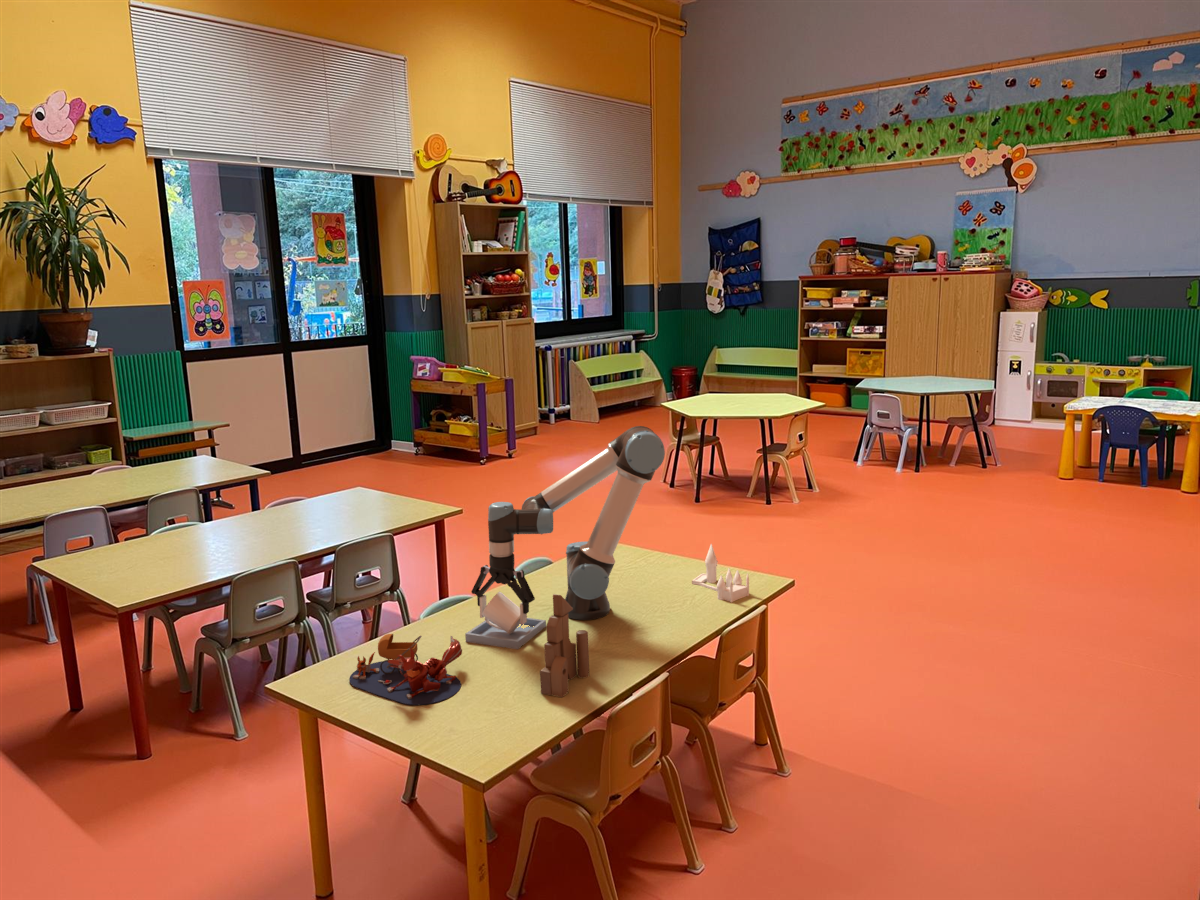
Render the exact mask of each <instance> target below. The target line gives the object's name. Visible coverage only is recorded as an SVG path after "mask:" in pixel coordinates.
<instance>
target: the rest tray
mask: <svg viewBox="0 0 1200 900" xmlns="http://www.w3.org/2000/svg"><path fill="white" fill-rule="evenodd" d="M489 621H490V620H489ZM490 622H491V621H490ZM491 623H493V622H491ZM493 624H494V623H493ZM495 625H496V624H495ZM524 625H529V626H530V627H529V626H528V627H526V628H524V629H523V628H521V626H522V625H521V626H520V627H518V628H516V629H515V631H514V632H513V633H511V634H509V633H507V632H506V631H504V630H500V629H497V628H494V627H492V626H490V625H489V624H488V623H487V622H486V621H485V620H484V621H482V622H481V623H479V624H478V625H476V626H474V627H473V628H472V629H470V630H468V631H466V633H465V635H464V636H465V642H466V643H473V644H478V645H479V644H480V645H484V646H491V647H492V646H494V647H499V648H505V647H506V649H511V650H519V649H520V648H521V646H522V645H523V646H524V645H525V644H526V643H528V642H529V641H531V640H532V639H533V638H534V637H535V636H536V635H537V634H539V633H540V632H541V631H543V629H545V628H547V620H545V619H537V618H532V617H527V622H526V623H524ZM533 626H534V627H533ZM523 646H522V647H523Z"/></svg>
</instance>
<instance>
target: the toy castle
mask: <svg viewBox="0 0 1200 900" xmlns="http://www.w3.org/2000/svg"><path fill="white" fill-rule="evenodd" d="M704 563H705V568H706V571H705V572H706V573H703V572H702V573H700V574H699V575H698V576H696V577H695V578H693V579H692V580H691V584H692V585H697V586H701V587H704V588H707V589H710V590H712V591H716V592H717V600H719V601H723V600H725V601H727V602H729V603H733V602H735V601H737V600H741V599H742V598H745V597H749V596H750V578H749V572H747V573H746V579H745V582H746V583H745V585H744V584H742V583H743V579H742V576H741V573H740V572H739V570H738V569H736V571H735V574H734V577H733V575H732V572H731V569H730V568H727V572H726V574H725V575H726V576H725V580H724V577H723V576H722V574H720V577H719V579H718V581H717V567H718V559H717V555H716V553H715V550H714V547H713V544H712V543H710V545H709V549H708V550H707V554H706V557H705V560H704ZM705 582H707V583H709V584H707V583H705ZM714 583H717V584H716V586H713V585H710V584H714Z"/></svg>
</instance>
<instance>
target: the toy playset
mask: <svg viewBox="0 0 1200 900" xmlns="http://www.w3.org/2000/svg"><path fill="white" fill-rule="evenodd" d="M453 637H454V636H453V635H450V644H449V647H448V648H447V649H446V650H445V651H444V652H443V653H442V657H441V659H438V658H435V657H430V658H429V659H427V660H426V661H425V662H424V663H422V662H421V661H419V657H418V654H417V652H418V643H419V641H420V640H421V638H422V635H419V636H418V637H417V638H416V639H414V640H413V641H411V642H408V641H407V642H404V641H403V642H402V641H399V642H398V641H394V640H393V639H394V633H387V634H384V635H383V636H382V637H380V639H379V640H378V643H377V653H378V655H379V657H381V658H384V659H386V660H382V661H377V662H372V661H373V660H374V656H375V653H376V651H375V652H373V653H372V654H371V655H370V656H369V658H368V662H367V659H366V657H365V656H362V657H363V658H362V660H361V659H360V656H359V655H358V656H357V658H356V659H357V661H358V663H357V664H356V670H355V671H353V672H352V673H351V674H350V676H349V679H348V680H349V683H350V685H351V686H353V687H354V688H357V689H360V690H362V691H365V692H367V693H369V694H372V695H375V696H379V697H381V698H384V699H388V700H391V701H394V702H396V703H400V704H403V705H410V706H422V705H423V706H424V705H426V706H427V705H431V704H436V703H439V702H443V701H446V700H448V699H449V698H451V697H454V696H455V695H456V694H457V693H459V691H460V690H461V688H462V682H461V680H460V679H459V678H458V677H457V676H456V675H452V674H449V673H448V670H447V668H446V667H447V666H448V665H449V664H451V663H452V662H454V661H456V660H457V659H458V658H460V657H461V656H462V655H463V649H462V646H461V642H460V640H458V639H456V638H453ZM366 662H367V663H368V664H366Z"/></svg>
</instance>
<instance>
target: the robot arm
mask: <svg viewBox="0 0 1200 900" xmlns="http://www.w3.org/2000/svg"><path fill="white" fill-rule="evenodd" d="M664 445H665V444H664V442H663V441H662V439H661V438H660V437H659V436H658V435H657V434H656V432H654V431H653V430H652V429H651V428H649V427H647V426H644V425H643V426H642V425H636V426H633V427H632V426H631V427H630V428H628V429H627V430H625V431H624V432H623V433H621V434H619V435H618V436H617V437H616V438H614V439H613V440H611V441H610V442H609V443H607V448H605V449H603V450H602V451H601V452H599V453H598V454H596V455H594V456H593V457H592V458H590V459H588V460H587V461H586V462H584V463H583V464H581V465H580V466H578V467H577V468H575V469H574V470H572V471H571V472H569V473H567V474H566V475H565V476H563V477H562V478H560V479H559V480H557V481H555V482H554V483H552V484H551V485H549V486H548V487H546V488H544V490H542V491H540V492H539V493H537V494H536V495H534V496H529V497H527V498H526V499H525V500H524V501H523V504H522V505H521V509H519V508H518V509H516V508H515V507H514V504H513V503H511V502H510V501H509V502H508V501H496V502H493V503H491V504H489V506H488V511H487V512H488V516H487V517H488V518H487V527H488V553H489V560H488V561H489V566H488V565H487V564H485V565H483V566H481V567H480V573H479V575H478V578H477V579H476V581H475V583H474V586H473V587H472V590H471V594H472V595H475V596H477V597H476V598H477V606H478V607H479V618H482V619H483V618H485V617H484V616H483V615H482V613H483V611H484V609H485V608H486V606H487V605H488V604H487V594H485V593H486V592H487V591H488V590H489V588H491V587H492V585H493V584H495V583H496V584H501V585H507V586H508V587H510V588H511V590H512V591H513V592H514V594H515V595H516V596H517V598H518V599H519V600H520V603H519V608H520V624H521V625H523V624H524V623H526V622H527V618H528V613H529V612H530V603H532V602H533V601H535V599H536V598H535V595H534V592H533V591H532V589H531V587H530V585H529V583H528V581H527V579H526V576H525V571H524V570H523V569H521V570H517V571H516V570H515V535H543V534H544V535H545V534H547V535H548V534H551V533H553V532H554V513H555V512H556V511H558V510H559V509H561V508H562V507H564V506H565V505H566V504H568V503H570V502H571V501H573V500H575V499H576V498H578V497H579V496H580V495H582V494H584V492H587V491H588V490H589V489H591V488H593V487H594V486H596V485H597V484H598V483H600V482H602V481H604V480H605V479H606V478H608V477H609V476H611V475H612V474H615V472H617V473H616V476H615V478H614V481H613V483H612V486H611V487H610V490H609V492H608V495H607V496H606V499H605V501H604V504H603V506H602V508H601V511H600V513H599V515H598V518H597V519H596V522H595V525H594V527H593V529H592V531H591V533H590V537H589V538H588V540H587V541H576V542H572V543H571V542H570V543H568V545H567V546H566V551H565V554H566V576H567V578H566V579H567V591H566V596H565V597H564V599H565V600H566V601H567V602H568V604H569V605H570V606H571V607H572V608H573V610H571V611H570V612H568V618H570V619H573V620H577V621H578V620H580V621H589V620H590V621H591V620H596V619H601V618H604V617H605V616H607V615H609V614H610V612H611V605H610V601H609V599H608V596H607V594H606V592H607V589H608V587H609V584H610V575H611V572H612V570H613V569H614V566H615V563H616V560H615V557H614V553H615V551H616V548H617V546H618V544H619V542H620V540H621V537H622V535H623V533H624V531H625V529H626V526H627V524H628V521H629V519H630V517H631V515H632V513H633V510H634V508H635V505H636V504H637V501H638V498H639V496H640V494H641V492H642V489H643V487H644V484H647V483H650V482H651V481H652V479H653V477H654V475H655V472H656V471H657V470H658V469H659V468H660V467H661V465H663V463H664V460H665V454H666V451H665V446H664ZM488 573H489V575H490V578H489V579H488V580H487V582H486V583H485V584H484V585H483V583H484V581H485V579H486V577H487V575H488ZM482 585H483V586H482Z"/></svg>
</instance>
